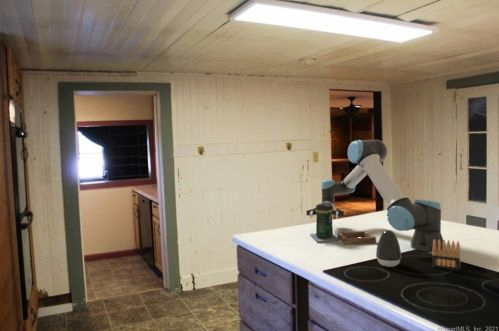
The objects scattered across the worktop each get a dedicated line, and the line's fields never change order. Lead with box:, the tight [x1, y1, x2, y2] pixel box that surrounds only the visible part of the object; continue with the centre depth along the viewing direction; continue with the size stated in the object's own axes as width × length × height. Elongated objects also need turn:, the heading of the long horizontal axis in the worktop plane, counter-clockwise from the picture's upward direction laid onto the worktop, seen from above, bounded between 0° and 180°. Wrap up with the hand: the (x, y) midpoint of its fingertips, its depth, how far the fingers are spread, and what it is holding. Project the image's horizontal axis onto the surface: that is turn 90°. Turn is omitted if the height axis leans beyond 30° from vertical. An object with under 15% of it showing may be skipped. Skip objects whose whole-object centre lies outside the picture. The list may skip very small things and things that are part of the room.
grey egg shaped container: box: [375, 229, 402, 268], centre depth 176 cm, size 10×10×15 cm
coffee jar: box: [315, 202, 334, 238], centre depth 222 cm, size 10×8×19 cm
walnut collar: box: [336, 230, 377, 246], centre depth 217 cm, size 14×16×3 cm
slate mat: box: [310, 233, 341, 244], centre depth 223 cm, size 16×12×1 cm
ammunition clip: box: [431, 239, 462, 269], centre depth 169 cm, size 11×2×12 cm, turn 59°
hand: (323, 216), depth 219 cm, fingers open, 13 cm apart
